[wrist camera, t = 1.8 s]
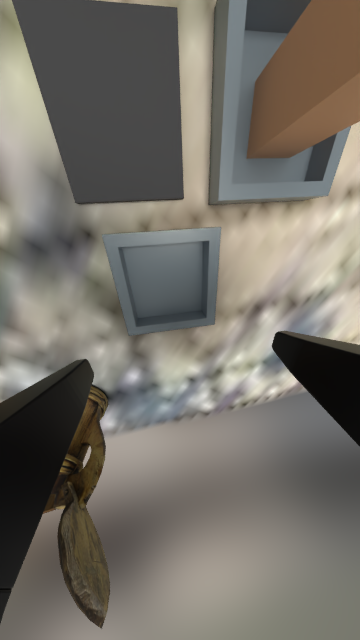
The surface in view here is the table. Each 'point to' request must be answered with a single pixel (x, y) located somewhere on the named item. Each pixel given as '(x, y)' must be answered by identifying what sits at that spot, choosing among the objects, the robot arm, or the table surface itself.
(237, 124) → the tray
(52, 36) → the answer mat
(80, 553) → the wooden mug
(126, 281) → the empty tray
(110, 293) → the table surface
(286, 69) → the orange block
